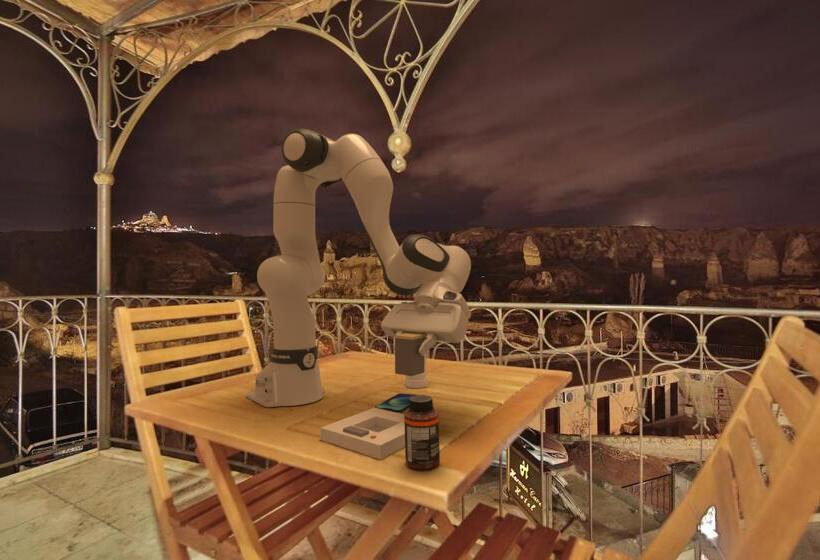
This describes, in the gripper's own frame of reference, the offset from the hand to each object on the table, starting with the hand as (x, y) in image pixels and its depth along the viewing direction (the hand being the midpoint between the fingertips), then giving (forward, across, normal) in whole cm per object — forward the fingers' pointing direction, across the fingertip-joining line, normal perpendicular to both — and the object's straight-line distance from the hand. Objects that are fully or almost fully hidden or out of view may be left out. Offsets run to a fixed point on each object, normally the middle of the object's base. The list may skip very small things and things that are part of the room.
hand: (407, 352), depth 86 cm
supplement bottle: (+19, +11, +4) cm, 23 cm away
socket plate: (+16, -4, +8) cm, 18 cm away
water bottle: (-11, -20, +35) cm, 42 cm away
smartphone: (+1, -15, +24) cm, 28 cm away
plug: (+3, 0, +4) cm, 4 cm away
